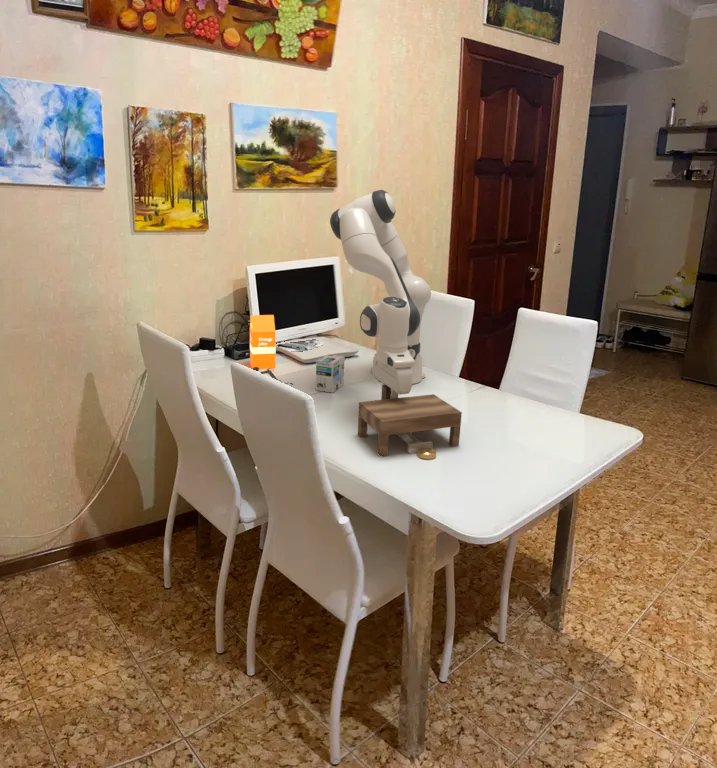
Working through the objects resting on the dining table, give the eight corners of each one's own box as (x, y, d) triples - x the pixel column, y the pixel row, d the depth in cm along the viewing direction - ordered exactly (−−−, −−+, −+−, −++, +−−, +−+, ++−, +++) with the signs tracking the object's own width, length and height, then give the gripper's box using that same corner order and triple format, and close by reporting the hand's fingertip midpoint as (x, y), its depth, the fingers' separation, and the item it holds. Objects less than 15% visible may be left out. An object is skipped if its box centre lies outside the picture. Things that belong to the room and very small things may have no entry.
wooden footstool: (357, 434, 183) (359, 401, 180) (431, 425, 192) (433, 394, 189) (380, 456, 169) (382, 421, 166) (458, 445, 178) (461, 412, 175)
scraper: (373, 422, 193) (375, 384, 190) (394, 419, 196) (396, 382, 192) (408, 454, 172) (411, 412, 168) (432, 450, 174) (435, 409, 171)
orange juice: (250, 364, 248) (249, 313, 242) (272, 362, 251) (272, 312, 245) (252, 369, 241) (251, 317, 235) (275, 368, 244) (275, 317, 237)
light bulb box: (333, 393, 218) (333, 363, 215) (315, 390, 220) (315, 360, 217) (344, 384, 227) (345, 355, 224) (327, 382, 230) (327, 353, 226)
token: (414, 454, 172) (414, 449, 172) (430, 451, 174) (430, 446, 174) (422, 461, 168) (423, 456, 167) (439, 459, 170) (439, 454, 169)
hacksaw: (252, 370, 242) (252, 366, 241) (278, 368, 245) (278, 364, 245) (265, 389, 220) (265, 385, 220) (294, 387, 224) (294, 383, 223)
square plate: (269, 351, 268) (269, 342, 267) (324, 343, 284) (324, 335, 283) (303, 367, 248) (303, 357, 246) (360, 358, 263) (360, 349, 262)
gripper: (368, 346, 193) (366, 389, 197) (396, 364, 175) (394, 411, 179) (387, 344, 195) (384, 387, 200) (417, 362, 177) (414, 409, 182)
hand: (389, 399), depth 189 cm, fingers open, 3 cm apart
